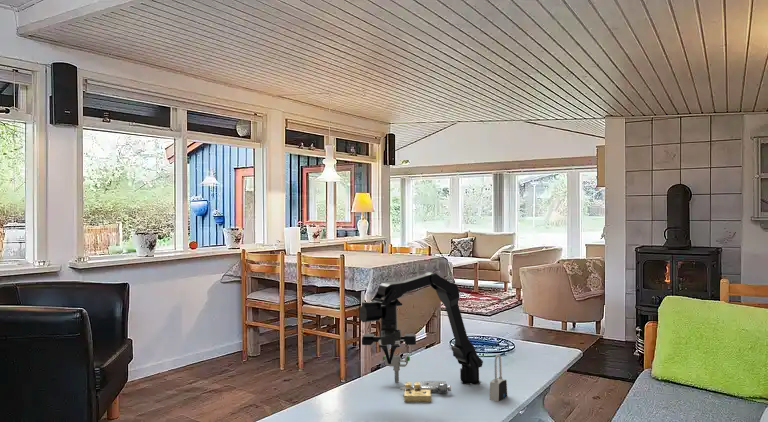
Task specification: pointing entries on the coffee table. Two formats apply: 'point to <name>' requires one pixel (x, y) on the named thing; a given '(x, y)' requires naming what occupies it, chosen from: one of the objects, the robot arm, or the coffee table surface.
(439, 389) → the fixed leaf
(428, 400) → the loose leaf
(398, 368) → the mechanical component
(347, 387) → the coffee table surface
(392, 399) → the coffee table surface
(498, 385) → the padlock
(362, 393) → the coffee table surface
